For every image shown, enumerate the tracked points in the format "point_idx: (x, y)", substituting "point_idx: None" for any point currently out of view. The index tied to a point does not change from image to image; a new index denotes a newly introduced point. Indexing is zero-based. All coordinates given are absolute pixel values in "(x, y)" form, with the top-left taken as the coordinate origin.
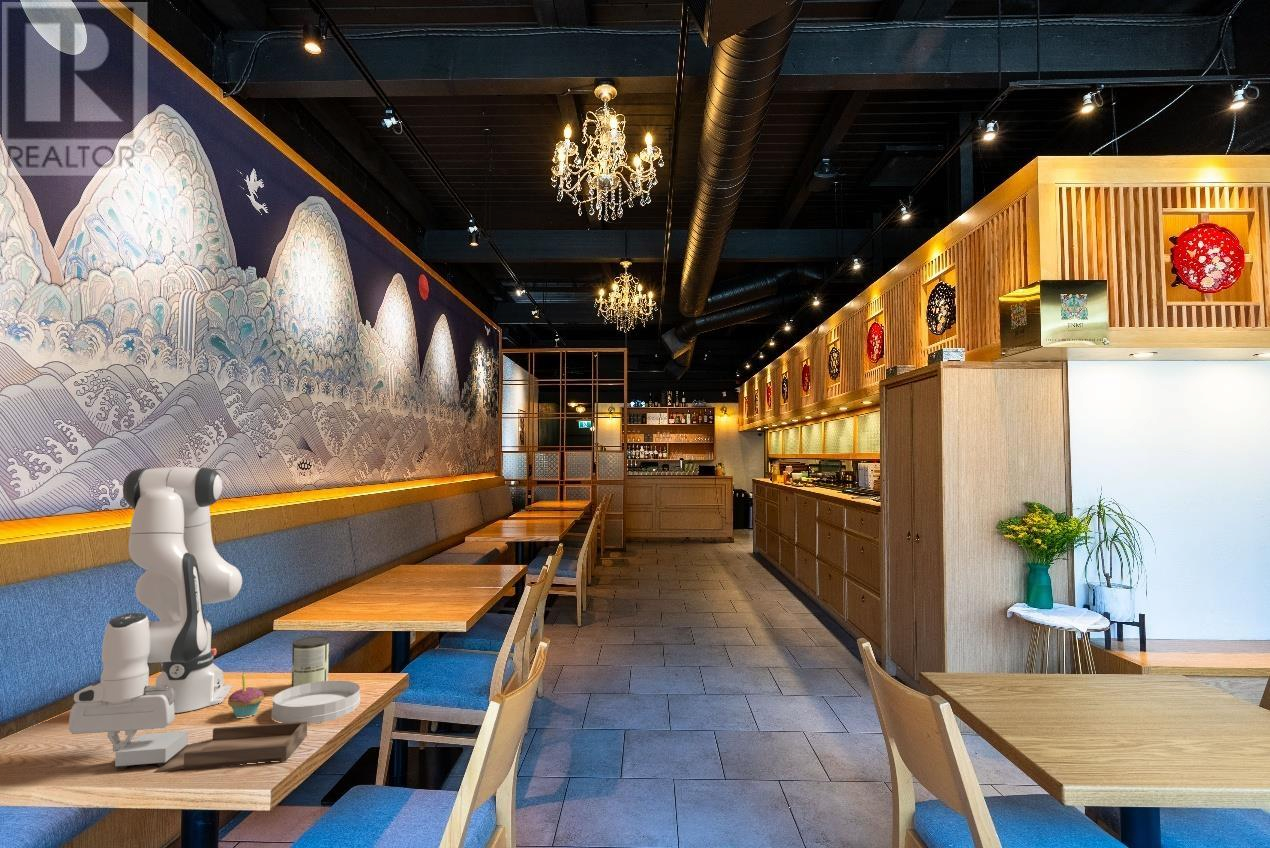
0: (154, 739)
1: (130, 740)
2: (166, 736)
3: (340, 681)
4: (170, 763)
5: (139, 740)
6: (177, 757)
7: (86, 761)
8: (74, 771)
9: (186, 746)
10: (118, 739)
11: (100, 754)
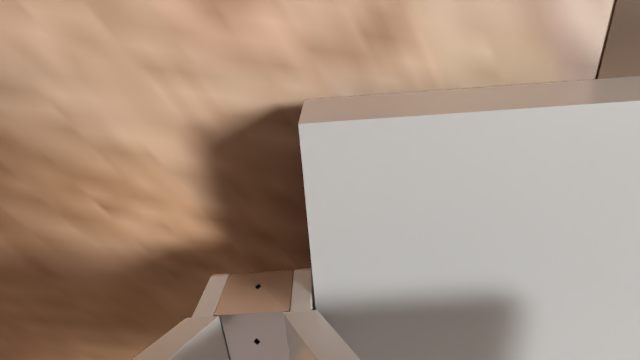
0: (517, 276)
1: (312, 313)
2: (615, 217)
3: None
4: None
5: (378, 279)
6: None
7: (38, 206)
8: (106, 320)
9: (628, 23)
10: (208, 350)
11: (15, 96)
